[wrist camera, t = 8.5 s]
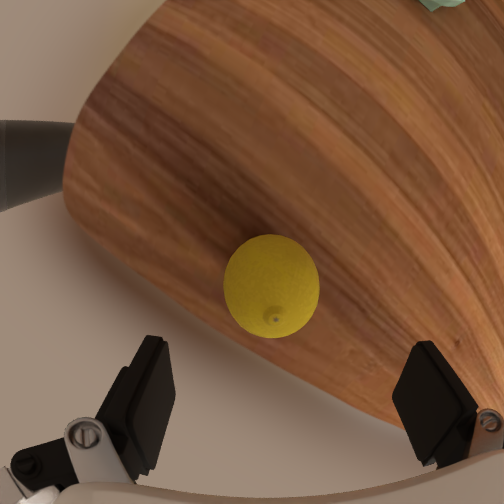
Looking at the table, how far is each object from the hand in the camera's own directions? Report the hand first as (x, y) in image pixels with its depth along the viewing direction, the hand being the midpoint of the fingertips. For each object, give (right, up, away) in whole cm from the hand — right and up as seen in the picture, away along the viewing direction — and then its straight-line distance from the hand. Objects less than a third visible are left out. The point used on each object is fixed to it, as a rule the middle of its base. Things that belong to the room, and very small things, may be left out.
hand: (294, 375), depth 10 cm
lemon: (0, +4, +11) cm, 12 cm away
